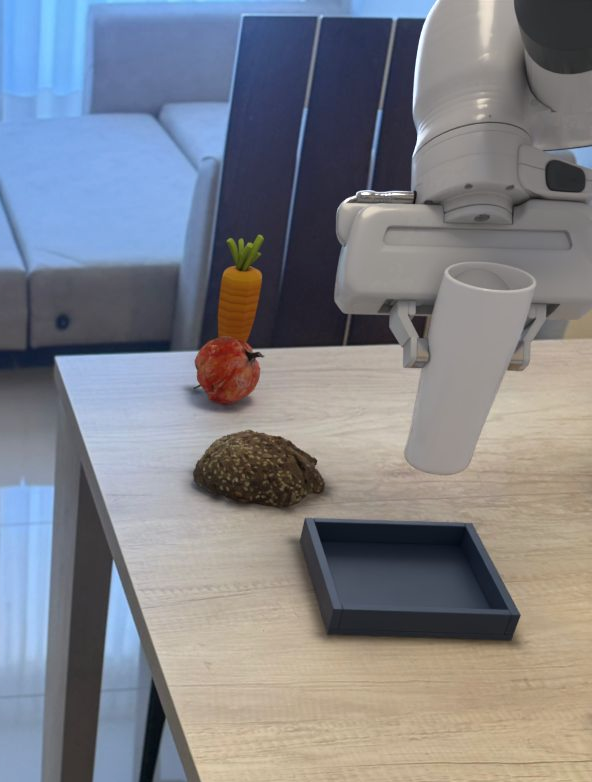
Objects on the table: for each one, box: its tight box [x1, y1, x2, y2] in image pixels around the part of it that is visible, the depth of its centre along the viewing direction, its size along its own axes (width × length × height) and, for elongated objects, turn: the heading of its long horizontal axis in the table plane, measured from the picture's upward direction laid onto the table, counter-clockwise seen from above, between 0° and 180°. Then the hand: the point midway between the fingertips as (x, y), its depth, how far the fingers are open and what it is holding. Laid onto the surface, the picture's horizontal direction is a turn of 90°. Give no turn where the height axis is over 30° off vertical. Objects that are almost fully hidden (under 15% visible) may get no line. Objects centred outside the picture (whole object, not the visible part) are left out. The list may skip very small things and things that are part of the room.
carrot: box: [217, 234, 265, 343], centre depth 136 cm, size 5×5×15 cm
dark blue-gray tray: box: [299, 517, 521, 642], centre depth 103 cm, size 16×16×3 cm
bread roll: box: [192, 429, 326, 509], centre depth 117 cm, size 13×12×5 cm
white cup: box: [403, 262, 537, 476], centre depth 91 cm, size 7×7×15 cm
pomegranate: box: [193, 336, 265, 406], centre depth 132 cm, size 7×7×10 cm
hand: (466, 366), depth 90 cm, fingers closed on white cup, 6 cm apart
